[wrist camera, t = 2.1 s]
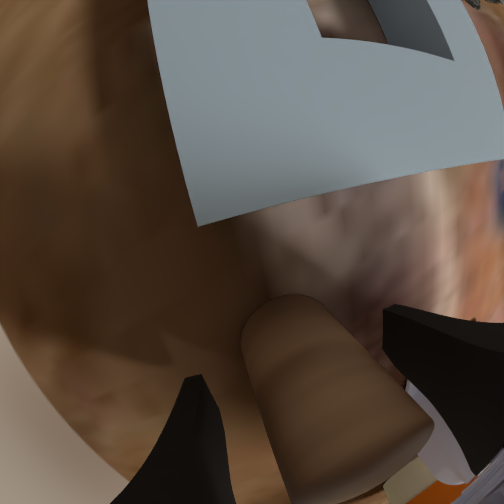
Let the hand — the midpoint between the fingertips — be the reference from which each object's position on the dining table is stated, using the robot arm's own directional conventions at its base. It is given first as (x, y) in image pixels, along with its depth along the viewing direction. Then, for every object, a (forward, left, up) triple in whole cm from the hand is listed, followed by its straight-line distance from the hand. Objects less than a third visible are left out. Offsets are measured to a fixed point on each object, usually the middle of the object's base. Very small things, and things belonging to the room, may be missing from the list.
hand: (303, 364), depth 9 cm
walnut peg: (0, 0, -2) cm, 2 cm away
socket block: (+13, -5, -2) cm, 14 cm away
